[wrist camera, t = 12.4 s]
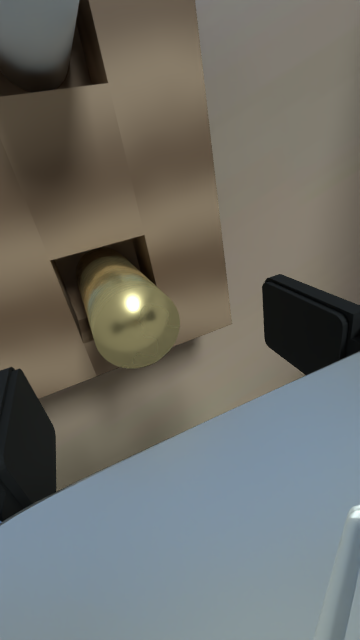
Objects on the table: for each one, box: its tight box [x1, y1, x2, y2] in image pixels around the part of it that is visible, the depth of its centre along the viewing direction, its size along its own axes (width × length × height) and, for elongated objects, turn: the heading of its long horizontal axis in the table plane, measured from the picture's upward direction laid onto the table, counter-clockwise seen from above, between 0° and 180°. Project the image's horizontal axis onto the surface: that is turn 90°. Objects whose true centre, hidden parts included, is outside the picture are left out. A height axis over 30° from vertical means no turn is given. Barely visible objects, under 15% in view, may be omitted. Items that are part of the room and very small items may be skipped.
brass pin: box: [76, 248, 180, 369], centre depth 18 cm, size 4×4×10 cm
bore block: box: [0, 0, 232, 399], centre depth 18 cm, size 24×16×6 cm, turn 11°
